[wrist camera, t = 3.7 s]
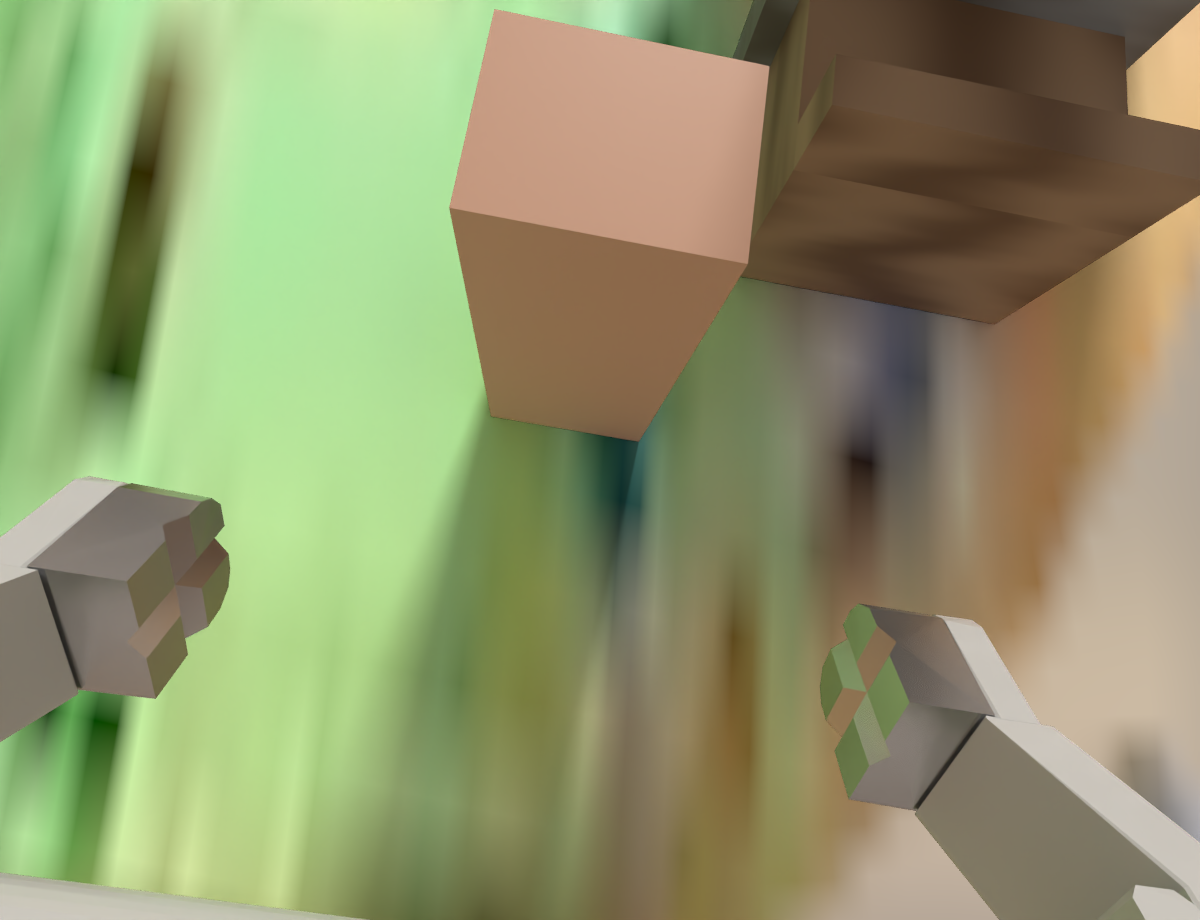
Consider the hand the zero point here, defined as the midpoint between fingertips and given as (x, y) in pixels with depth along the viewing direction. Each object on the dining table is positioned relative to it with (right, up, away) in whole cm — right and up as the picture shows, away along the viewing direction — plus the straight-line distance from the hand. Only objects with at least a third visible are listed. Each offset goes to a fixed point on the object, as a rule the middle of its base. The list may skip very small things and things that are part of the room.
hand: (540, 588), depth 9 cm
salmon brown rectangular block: (0, +5, +15) cm, 15 cm away
